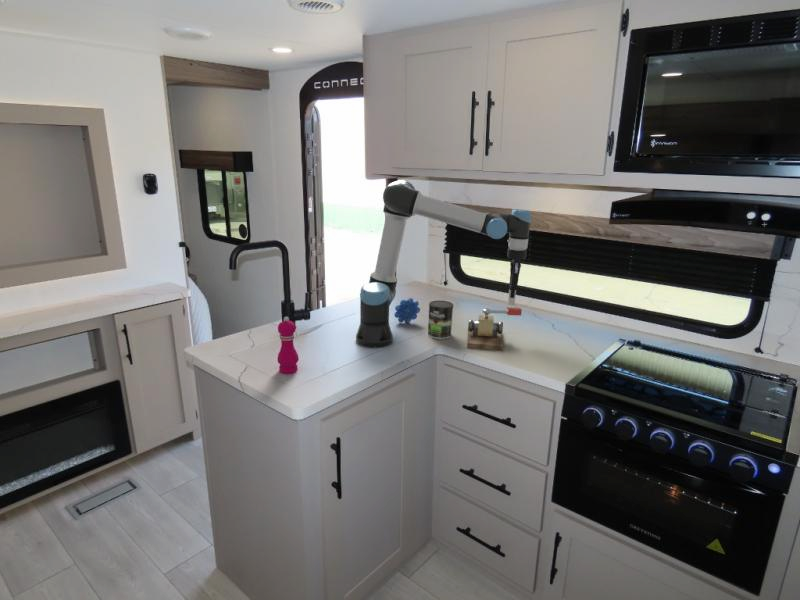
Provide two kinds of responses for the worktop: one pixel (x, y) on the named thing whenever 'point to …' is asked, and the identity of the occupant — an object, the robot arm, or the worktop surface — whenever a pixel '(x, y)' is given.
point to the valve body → (485, 326)
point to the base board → (484, 342)
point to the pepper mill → (287, 347)
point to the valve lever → (504, 311)
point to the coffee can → (440, 319)
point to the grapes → (407, 310)
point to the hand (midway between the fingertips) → (511, 304)
